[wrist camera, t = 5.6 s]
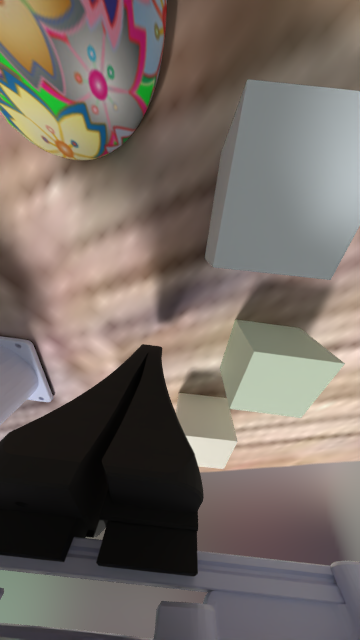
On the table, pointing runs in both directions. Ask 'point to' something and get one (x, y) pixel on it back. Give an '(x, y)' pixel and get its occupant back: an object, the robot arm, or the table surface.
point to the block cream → (207, 428)
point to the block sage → (275, 369)
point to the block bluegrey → (288, 181)
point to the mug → (79, 71)
